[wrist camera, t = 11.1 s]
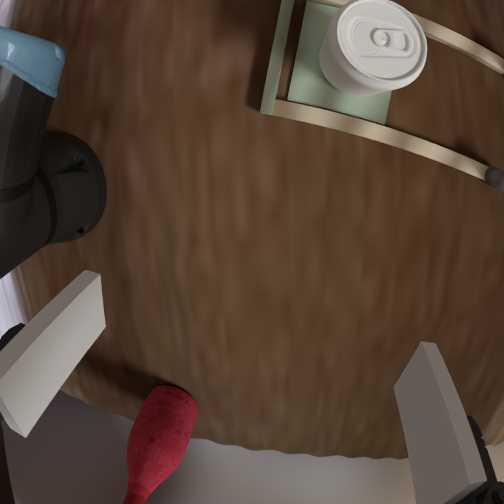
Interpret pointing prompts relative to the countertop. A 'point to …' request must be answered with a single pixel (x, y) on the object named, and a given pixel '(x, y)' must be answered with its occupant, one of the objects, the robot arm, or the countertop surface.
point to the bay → (367, 107)
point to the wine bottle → (158, 440)
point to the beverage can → (372, 48)
